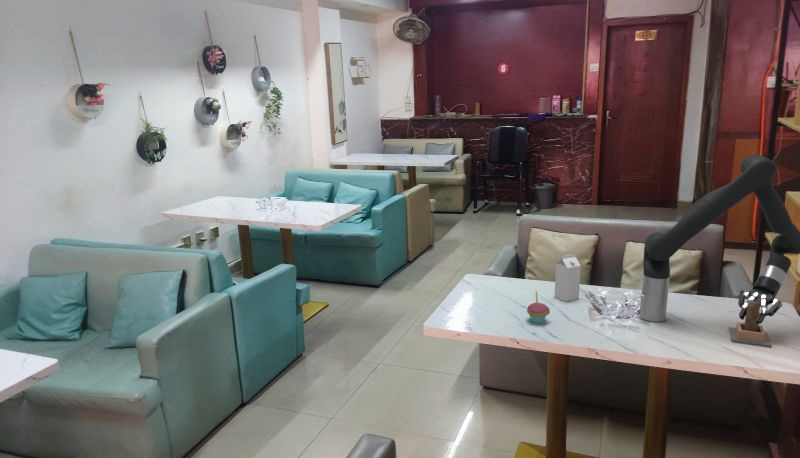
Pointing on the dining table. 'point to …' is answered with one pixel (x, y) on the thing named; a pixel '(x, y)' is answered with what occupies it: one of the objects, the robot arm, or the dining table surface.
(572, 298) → the milk carton
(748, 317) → the wooden square peg
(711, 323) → the dining table surface
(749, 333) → the square peg socket
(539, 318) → the cupcake
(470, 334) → the dining table surface
